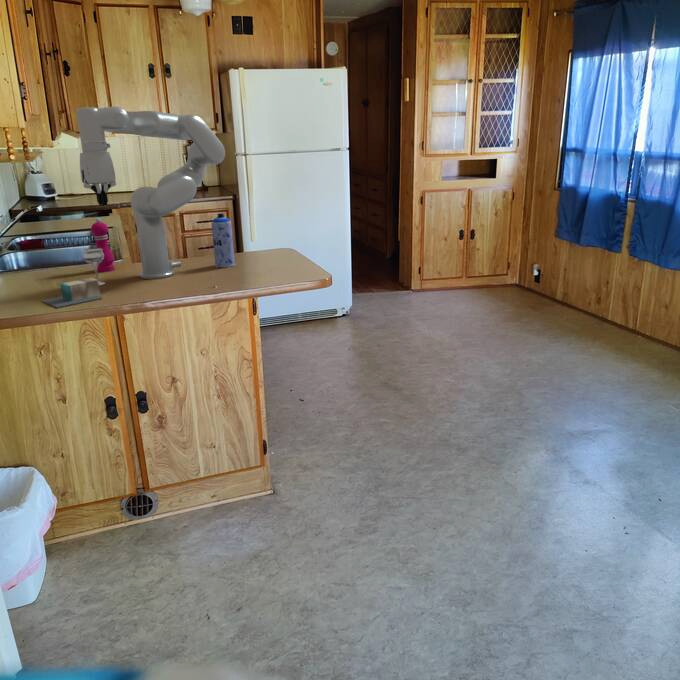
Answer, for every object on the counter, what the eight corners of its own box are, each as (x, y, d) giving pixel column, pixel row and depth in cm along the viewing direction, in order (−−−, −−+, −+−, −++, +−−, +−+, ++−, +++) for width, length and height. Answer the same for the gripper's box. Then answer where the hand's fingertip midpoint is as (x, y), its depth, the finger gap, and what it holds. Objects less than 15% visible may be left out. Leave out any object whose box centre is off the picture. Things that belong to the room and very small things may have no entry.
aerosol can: (210, 266, 235) (205, 214, 229) (225, 262, 241) (220, 211, 235) (225, 268, 231) (220, 215, 224) (239, 264, 237) (235, 212, 230)
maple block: (91, 277, 198) (60, 283, 191) (97, 280, 194) (66, 286, 188) (93, 292, 199) (63, 299, 193) (100, 295, 196) (69, 301, 189)
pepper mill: (118, 270, 234) (110, 218, 227) (98, 273, 230) (90, 220, 224) (113, 267, 240) (105, 216, 233) (94, 270, 236) (85, 218, 229)
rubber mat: (86, 292, 201) (86, 291, 201) (101, 298, 193) (101, 297, 193) (42, 301, 192) (42, 300, 192) (57, 308, 184) (56, 307, 184)
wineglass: (107, 284, 211) (102, 250, 207) (87, 286, 209) (81, 252, 206) (109, 280, 217) (103, 247, 213) (88, 282, 216) (83, 249, 212)
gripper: (111, 147, 205) (119, 202, 211) (66, 148, 195) (76, 206, 201) (121, 146, 200) (129, 203, 206) (76, 148, 190) (85, 208, 196)
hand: (103, 205), depth 204 cm, fingers closed
